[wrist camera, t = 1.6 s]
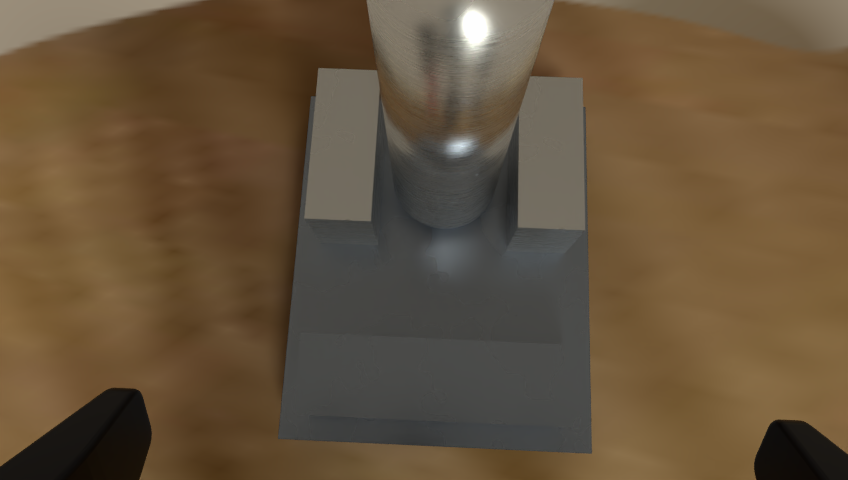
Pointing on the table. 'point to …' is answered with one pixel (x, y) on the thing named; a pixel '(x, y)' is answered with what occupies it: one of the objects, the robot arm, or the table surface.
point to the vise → (440, 288)
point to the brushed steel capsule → (452, 96)
